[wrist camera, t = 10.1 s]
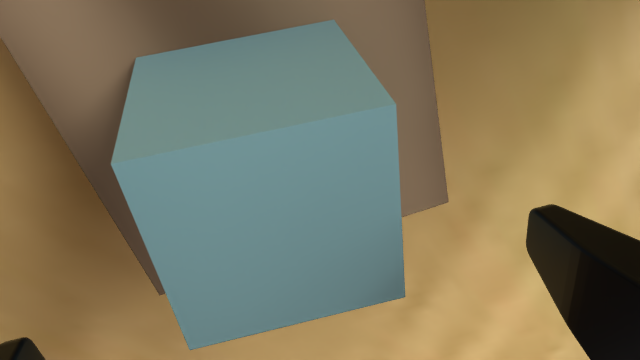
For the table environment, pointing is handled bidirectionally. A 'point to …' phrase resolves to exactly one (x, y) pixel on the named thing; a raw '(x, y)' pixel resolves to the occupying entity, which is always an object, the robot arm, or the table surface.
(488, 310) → the table surface
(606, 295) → the robot arm
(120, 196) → the walnut block
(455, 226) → the table surface
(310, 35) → the teal cube
